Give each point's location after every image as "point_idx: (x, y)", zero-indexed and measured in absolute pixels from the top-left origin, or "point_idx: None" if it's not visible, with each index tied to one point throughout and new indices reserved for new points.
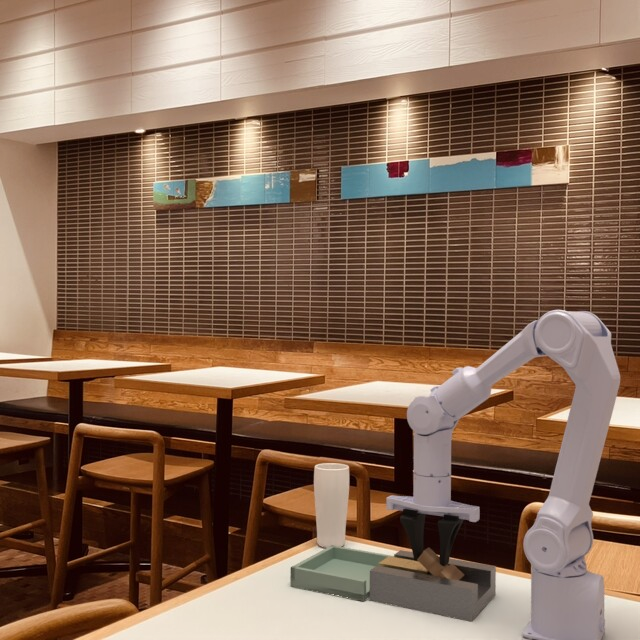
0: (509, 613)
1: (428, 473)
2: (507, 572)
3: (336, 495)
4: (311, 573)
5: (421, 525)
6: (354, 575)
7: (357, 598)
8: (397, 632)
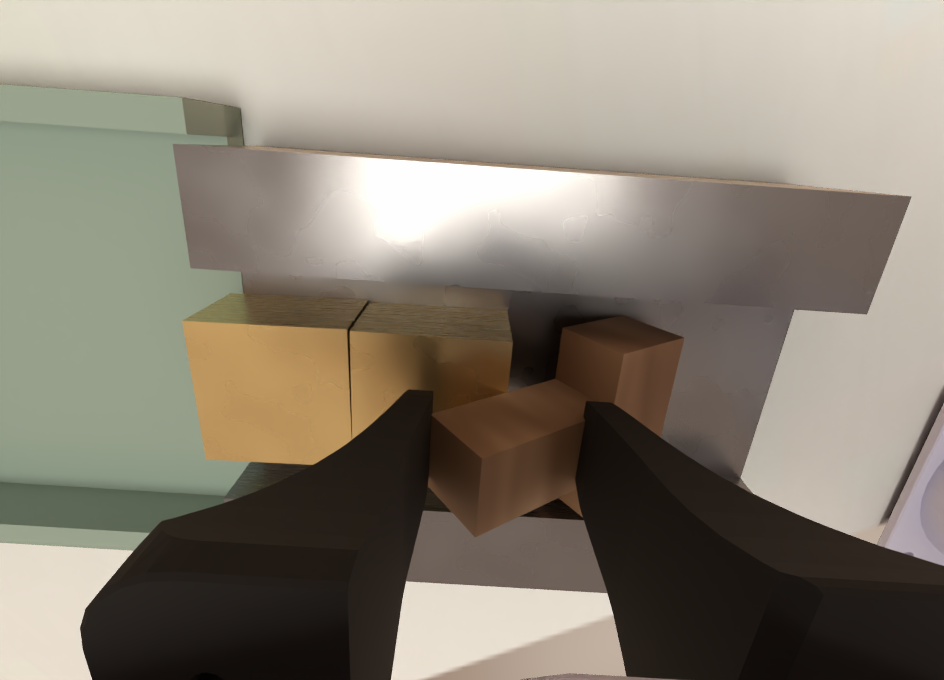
0: (841, 375)
1: None
2: None
3: None
4: None
5: (388, 575)
6: (87, 326)
7: None
8: (485, 647)
